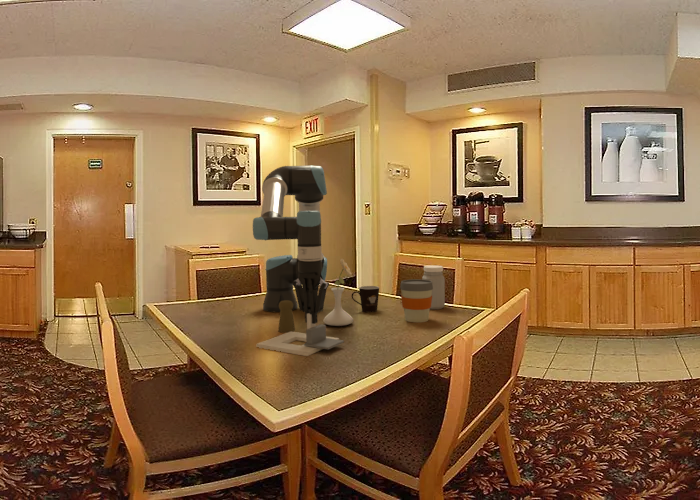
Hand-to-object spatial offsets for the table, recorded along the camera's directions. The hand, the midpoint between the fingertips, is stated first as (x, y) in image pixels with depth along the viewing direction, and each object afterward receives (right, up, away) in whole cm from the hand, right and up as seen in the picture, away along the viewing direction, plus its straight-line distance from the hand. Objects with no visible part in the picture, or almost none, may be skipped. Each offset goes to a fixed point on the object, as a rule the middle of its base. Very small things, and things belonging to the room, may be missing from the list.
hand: (311, 333), depth 160 cm
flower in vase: (+8, -2, +30) cm, 32 cm away
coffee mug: (+19, 0, +54) cm, 57 cm away
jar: (+49, +1, +58) cm, 76 cm away
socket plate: (-4, -4, +3) cm, 7 cm away
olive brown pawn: (-11, -3, +22) cm, 25 cm away
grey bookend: (+4, -3, -2) cm, 6 cm away
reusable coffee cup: (+38, -1, +36) cm, 52 cm away
